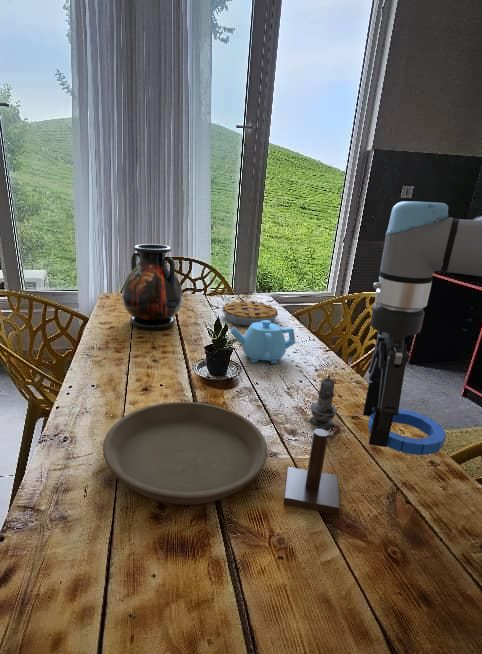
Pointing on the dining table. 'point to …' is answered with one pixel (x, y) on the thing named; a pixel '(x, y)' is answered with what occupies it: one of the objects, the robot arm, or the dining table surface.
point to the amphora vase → (152, 288)
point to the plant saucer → (185, 452)
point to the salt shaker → (324, 405)
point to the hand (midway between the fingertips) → (373, 429)
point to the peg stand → (313, 481)
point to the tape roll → (414, 444)
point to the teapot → (265, 341)
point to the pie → (249, 312)
